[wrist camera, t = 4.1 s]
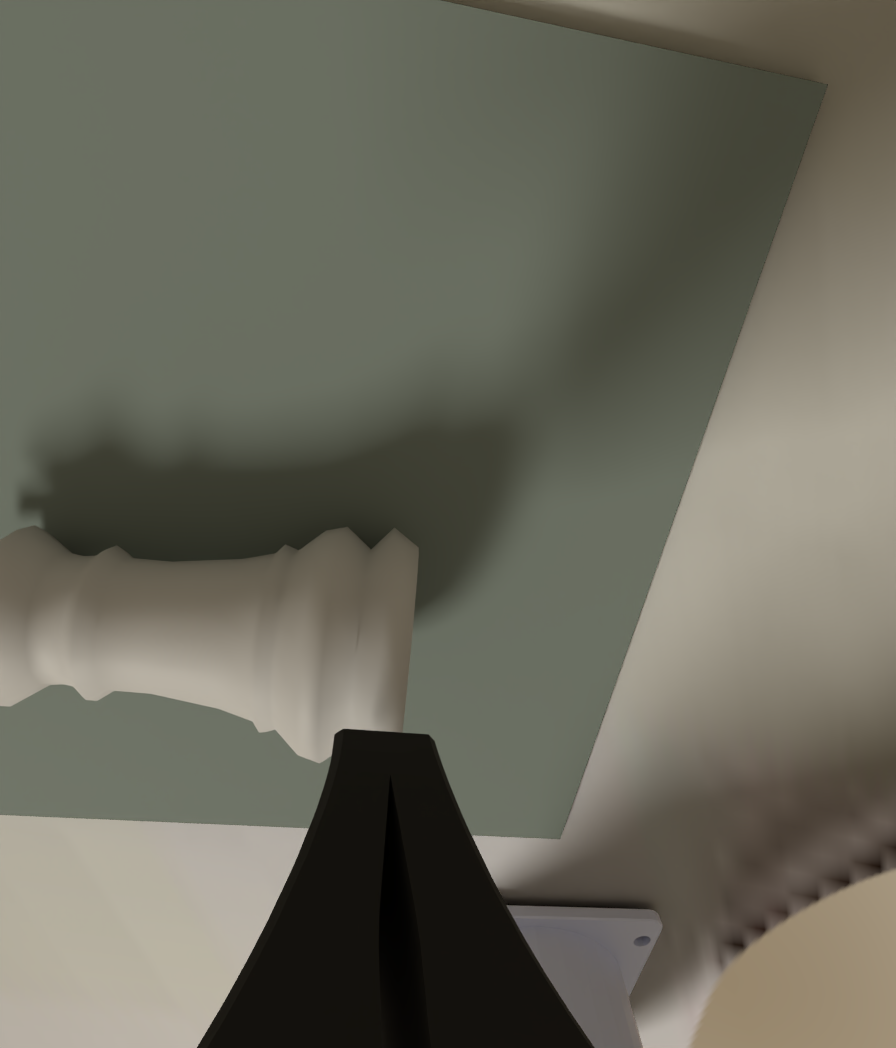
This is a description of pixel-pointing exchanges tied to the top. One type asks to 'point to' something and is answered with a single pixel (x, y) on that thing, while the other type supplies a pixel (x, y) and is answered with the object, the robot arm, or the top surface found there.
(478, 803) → the mat
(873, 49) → the top surface
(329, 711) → the rook chess piece
